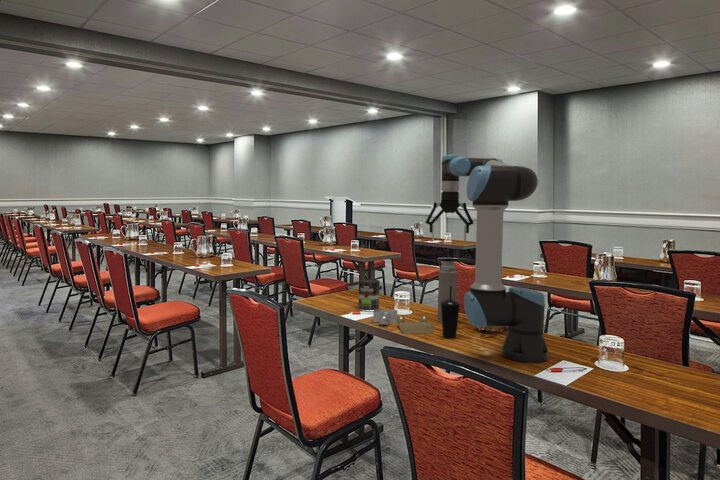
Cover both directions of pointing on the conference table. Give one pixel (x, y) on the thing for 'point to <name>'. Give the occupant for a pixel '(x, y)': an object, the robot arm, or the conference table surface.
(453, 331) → the drinking cup
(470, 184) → the robot arm
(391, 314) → the grey mechanical part
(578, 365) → the conference table surface
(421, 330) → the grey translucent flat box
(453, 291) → the thermos bottle
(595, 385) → the conference table surface
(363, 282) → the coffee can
